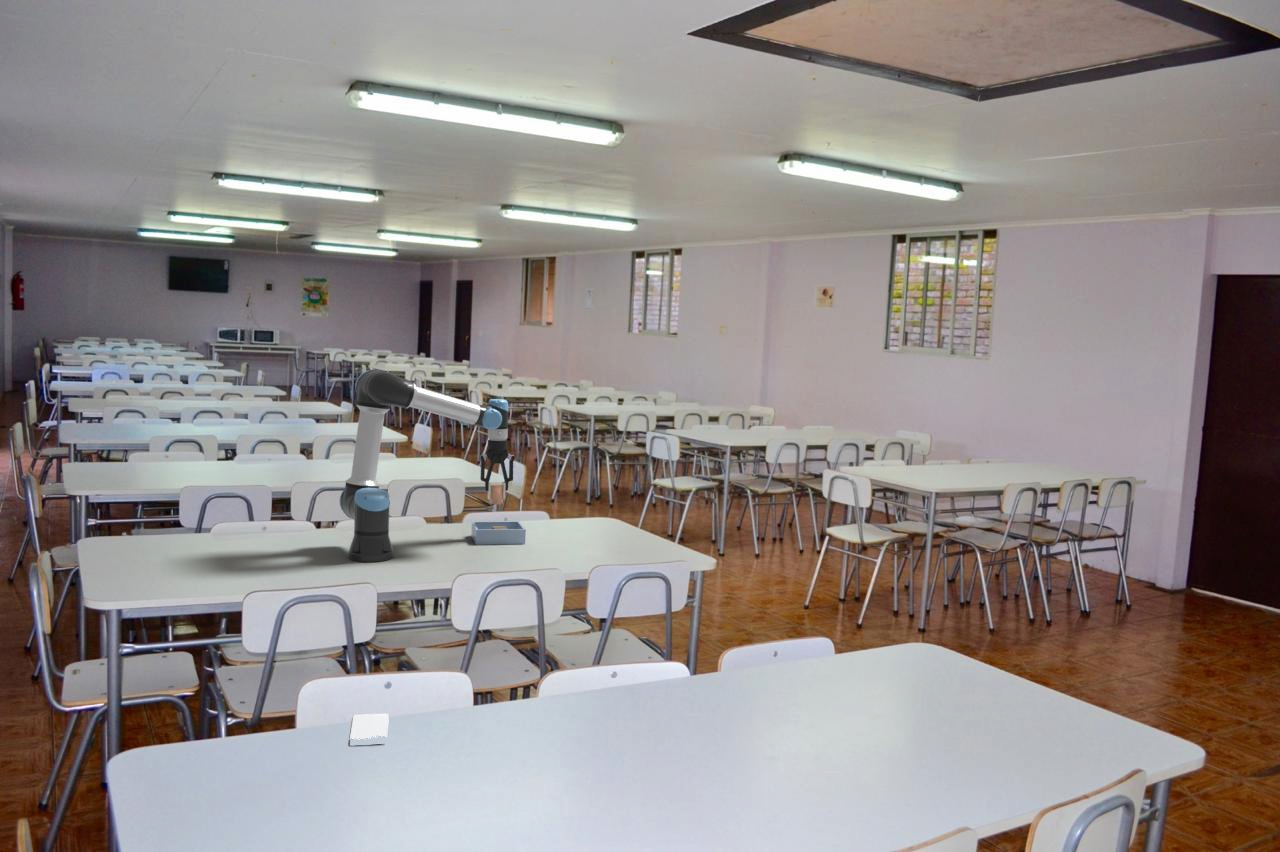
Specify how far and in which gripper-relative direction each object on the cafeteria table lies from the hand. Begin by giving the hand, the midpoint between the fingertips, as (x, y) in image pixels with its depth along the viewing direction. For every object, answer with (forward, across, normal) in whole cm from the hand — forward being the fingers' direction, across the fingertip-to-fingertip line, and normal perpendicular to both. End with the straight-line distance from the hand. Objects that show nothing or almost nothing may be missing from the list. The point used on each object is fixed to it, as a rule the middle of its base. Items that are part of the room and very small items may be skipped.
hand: (496, 498), depth 383 cm
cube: (+15, 0, -8) cm, 17 cm away
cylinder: (+2, 0, 0) cm, 2 cm away
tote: (+15, 0, -4) cm, 16 cm away
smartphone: (+15, -52, -177) cm, 185 cm away
